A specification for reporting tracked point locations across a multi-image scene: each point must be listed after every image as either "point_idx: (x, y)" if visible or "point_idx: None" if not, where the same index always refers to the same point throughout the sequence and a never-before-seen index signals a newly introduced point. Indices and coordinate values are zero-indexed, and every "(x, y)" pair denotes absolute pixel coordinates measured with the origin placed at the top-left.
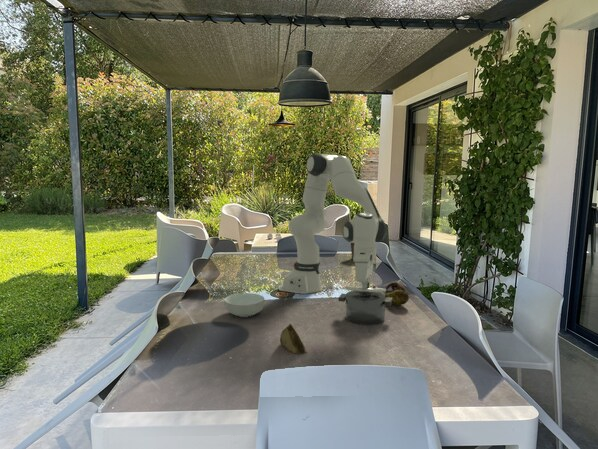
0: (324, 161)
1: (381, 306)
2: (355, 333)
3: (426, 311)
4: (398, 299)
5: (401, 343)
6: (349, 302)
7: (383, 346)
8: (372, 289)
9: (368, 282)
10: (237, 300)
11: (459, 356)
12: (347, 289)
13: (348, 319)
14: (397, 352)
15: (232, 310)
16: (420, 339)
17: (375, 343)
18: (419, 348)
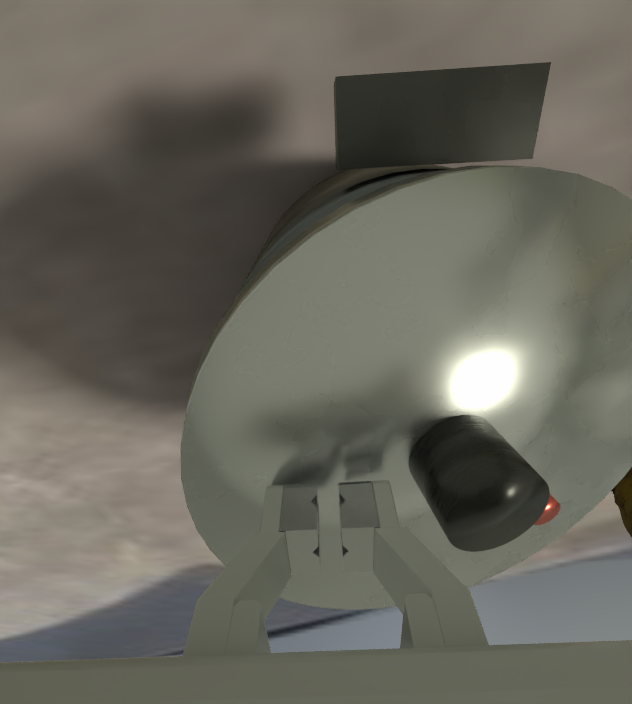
0: None
1: None
2: (95, 308)
3: (556, 545)
4: (629, 492)
5: (109, 503)
6: (263, 254)
7: (28, 453)
8: None
9: (461, 549)
10: None
11: (115, 626)
12: (268, 262)
13: (288, 210)
14: (11, 501)
15: None
16: (192, 548)
17: (36, 421)
18: (102, 551)
